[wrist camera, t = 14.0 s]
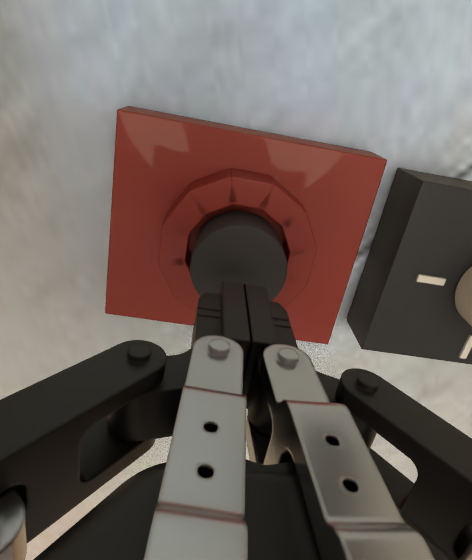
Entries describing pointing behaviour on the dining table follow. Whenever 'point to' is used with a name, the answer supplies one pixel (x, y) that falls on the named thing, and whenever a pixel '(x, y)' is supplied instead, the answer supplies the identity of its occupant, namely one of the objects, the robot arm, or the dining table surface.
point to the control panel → (417, 271)
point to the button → (238, 254)
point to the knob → (465, 296)
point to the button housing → (232, 197)
